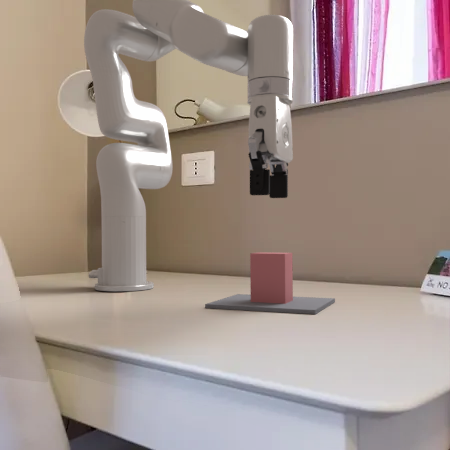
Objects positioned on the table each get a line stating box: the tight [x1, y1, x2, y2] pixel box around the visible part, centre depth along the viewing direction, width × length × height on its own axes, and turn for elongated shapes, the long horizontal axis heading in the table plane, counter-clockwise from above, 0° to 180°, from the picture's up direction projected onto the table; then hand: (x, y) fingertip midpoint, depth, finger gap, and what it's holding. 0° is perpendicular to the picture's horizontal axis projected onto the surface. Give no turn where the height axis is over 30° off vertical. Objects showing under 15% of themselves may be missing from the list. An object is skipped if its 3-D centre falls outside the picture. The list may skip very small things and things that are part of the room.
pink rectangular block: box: [249, 251, 294, 304], centre depth 88 cm, size 4×6×8 cm, turn 65°
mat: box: [204, 293, 336, 315], centre depth 88 cm, size 18×14×1 cm
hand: (269, 196), depth 88 cm, fingers open, 9 cm apart
